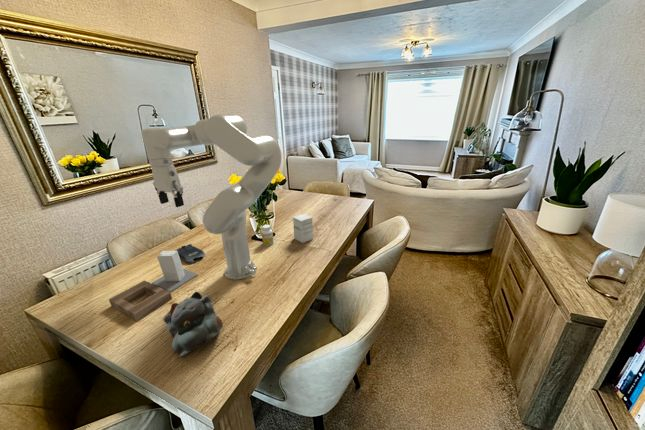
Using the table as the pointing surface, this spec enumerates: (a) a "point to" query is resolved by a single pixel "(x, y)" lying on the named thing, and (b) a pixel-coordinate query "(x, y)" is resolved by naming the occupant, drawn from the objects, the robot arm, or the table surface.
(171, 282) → the grey rubber mat
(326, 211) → the table surface
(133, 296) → the walnut socket block
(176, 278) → the skincare box
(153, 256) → the table surface
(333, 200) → the table surface
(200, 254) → the electronic device
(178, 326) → the lucky cat figurine
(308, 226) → the supplement box
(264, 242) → the supplement bottle
